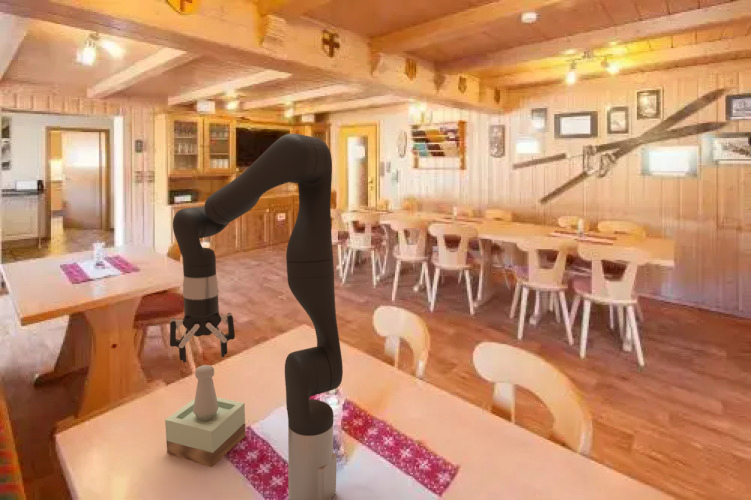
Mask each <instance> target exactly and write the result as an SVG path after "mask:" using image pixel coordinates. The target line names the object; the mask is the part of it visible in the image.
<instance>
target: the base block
mask: <svg viewBox="0 0 751 500" xmlns="http://www.w3.org/2000/svg"><path fill="white" fill-rule="evenodd" d="M246 431H247V430H246V423H244V424H243V425H242V426H241V427H240V428H239V429H238V430H237V431H236V432H235V433H234V434H233V435H231V436H230V437H229V438H228V439H227V440H226V441H225V442H224V443H223V444H222V445H221V446H220V447H219V448H218V449H216V450H215V451H214V452H213V453H211V452H207V451H204V450H200V449H196V448H192V447H188V446H185V445H181V444H177V443H173V442H170V441H166V442H165V443H166V453H168V454H171V455H174V456H177V457H180V458H183V459H186V460H188V461H192V462H195V463H197V464H201V465H204V466H207V467H210V468H212V467H213V466H214V464H216V463H217V462H218V461H219V460H220V459H222V458H223V457H224V456H225V455H226V454H227V453H228V452H229V451H231V450H232V449H233V448H234V447H235V446H237V445H238V443H240V442H241V441H242V440H243V439H244V438H246Z"/></svg>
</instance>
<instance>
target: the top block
mask: <svg viewBox="0 0 751 500" xmlns="http://www.w3.org/2000/svg"><path fill="white" fill-rule="evenodd" d="M216 397H217V402H218V410H217V412H216V414H215V416H214V418H213V419H211V420H208V421H199V420H198V419H197V417H196V415H195V414H194V412H193V407H194V401H195V398H193V399H192V400H190V401H189V402H188V403H186V404H185V405H183V406H182V407H180V408H179V409H178V410H177V411H175V412H174V413H172V414H171V415H170V416H168V417H167V418H165V419H164V422H165V423H164V424H165V425H164V426H165V438H166V441H170V442H173V443H177V444H181V445H185V446H188V447H192V448H196V449H200V450H204V451H207V452H211V453H213V452H214V451H215V450H216V449H218V448H219V447H220V446H221V445H222V444H223V443H224V442H225V441H226V440H227V439H228V438H229V437H230V436H231V435H233V434H234V433H235V432H236V431H237V430H238V429H239V428H240V427H241V426H242V425H243V424H246V408H245V402H241V401H237V400H232V399H227V398H223V397H219V396H216Z"/></svg>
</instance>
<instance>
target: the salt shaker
mask: <svg viewBox="0 0 751 500" xmlns="http://www.w3.org/2000/svg"><path fill="white" fill-rule="evenodd" d="M194 374H195V378H196V379H197V384H196V389H195V396H194V399H195V401H194V407H193V412H194V414H195V415H196V417H197V419H198V420H199V421H208V420H211V419H213V418H214V416H215V414H216V412H217V410H218V402H217V397H218V396H217V395H216V389H215V385H214V380H213V377H214V375H215V368H214V366H212V365H209V364H202V365H200V366H198V367H196V368H195V373H194Z"/></svg>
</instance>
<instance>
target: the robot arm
mask: <svg viewBox="0 0 751 500" xmlns="http://www.w3.org/2000/svg"><path fill="white" fill-rule="evenodd" d="M332 177H333V160H332V153H331V150H330V148H329V147H328V144H327V143H326V142H325V141H323V139H320V138H318V137H314V136H310V135H304V134H300V133H287V134H284V135H282V136H280V138H279V137H278V139H276V140H275V142H273V143H272V144H271V145H270V146H269V147H268V148H267V149H266V150H265V151H264V152H263V153H262V154H261V155H260V156H259V157H258V158H257V159H256V160H255V161H254V162H253V163H252V164H250V166H248V168H246V169H244V170H243V172H241V174H240V175H238V176H237V177H235V178H234V179H232V181H230V182H228V183H227V184H225V185H224V186H222V187H220V188H219V189H218V190H216V191H215V192H213V193H212V194H210V195H209V196H208V197H207V198H206V200H205V202H204V205H203V206H202V205H201V206H195V207H186V208H181V209H179V210H177V212H176V213H175V214H174V217H173V219H172V220H173V221H172V231H173V235H174V236H175V239H176V242H177V246H178V249H179V251H180V255H181V257H182V269H183V273H182V274H183V282H182V296H183V313H184V316H183V319H176V318H174V317H173V318H171V319H170V320H169V321H170V322H169V335H170V336H169V345H170V347H177V348H178V352H179V353H178V355H179V360H180V361H182V363H184V364H185V363H187V353H186V352H187V351H186V344H188V342H190V340H191V339H192V337H193V336H195V338H197V337H202V336H210V335H214V336H215V337H216V338H218V339H219V343H220V345H219V347H220V356H221V358H225V355H226V356H227V354H228V341H230V340H235V338H236V336H235V335H236V334H235V324H234V316H233V314H232V313H231V312H228V313H226V314H224V315H220V310H219V309H220V307H219V285H218V283H219V282H218V277H217V259H216V253H215V250H213V249H212V248H210V247H205V246H204V247H203V246H202V243H201V240H200V239H203V238H210V237H213V236H215V235H217V234H219V233H221V232H222V231H223V230H225V229H226V228H227V227H228V225H229V224H230V223H231V222H233V221H235V220H237V219H238V218H240V217H241V216H243V215H245V214H246V213H248V212H249V211H250V210H252V209H253V208H254V207H255V206H256V205H257V203H258V202H259V200H260V199H261V198H262V196H263V195H264V194H265V193H267V192H269V191H270V190H272V189H274V188H277V187H279V186H281V185H284V184H288V183H290V184H297V188H298V213H297V217H296V220H295V222H294V226H293V228H292V231H291V234H290V236H289V239H288V242H287V243H288V244H287V246H286V253H285V255H286V257H285V258H286V259H285V260H286V274H287V278H286V279H287V285H288V288H289V290H290V291H291V294H292V295H293V296H294V298H295V299H296V301H297V302H298V303H299V304H300V306H301V307H302V308H303V310H304V311H305V313H306V314H307V315H308V317H309V319H310V320H311V323H312V324H313V327H314V331H315V334H316V335H315V336H316V346H314V347H309V348H305V349H304V348H303V349H299V350H295V351H293V352H290V353H289V354H288V355H287V356H286V358H285V363H284V381H285V382H284V383H285V385H284V386H285V399H286V401H285V402H286V403H285V404H286V413H287V420H288V421H287V424H288V427H287V429H288V432H287V433H288V435H287V436H288V439H287V441H288V443H287V444H288V445H287V447H288V448H287V450H288V452H287V453H288V459H287V461H288V463H287V464H288V474H287V475H288V480H287V481H288V488H287V489H288V500H330V499H331V498H332V496H333V495H334V494H335V495H336V493H337V461H338V460H337V458H338V457H337V453H335V452H334V411H333V408H332V406H331V405H330V404H329V403H327V402H325V401H322V400H320V399H319V400H318V399H315V398H313V399H312V398H311V397H313V396H317V395H320V394H324V393H327V392H330V391H333V390H336V389H338V388H339V387H340V386H341V384H342V381H343V372H344V371H343V370H344V369H343V356H342V350H341V343H340V336H339V330H338V323H337V322H338V321H337V320H338V319H337V311H336V297H335V296H336V295H335V294H336V293H335V270H334V269H335V268H334V266H335V265H334V264H335V263H334V252H333V240H332V239H333V238H332V236H333V235H332V212H331V203H332V202H331V199H332V198H331V197H332V180H333V179H332ZM222 321H223V322H224V324H225V325H227V330H228V333H224V332H223V331H222V330H221V329H220V327H219V325H220V324H221V322H222ZM181 326H184V328H185V329H186V330H185V331H184V332H183V334H182V336H181V337H180V338H179V339H178V338H177V330H179V329H180V327H181ZM335 492H336V493H335ZM335 495H334V496H335ZM334 496H333V497H334ZM332 499H333V498H332ZM332 499H331V500H332Z"/></svg>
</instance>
